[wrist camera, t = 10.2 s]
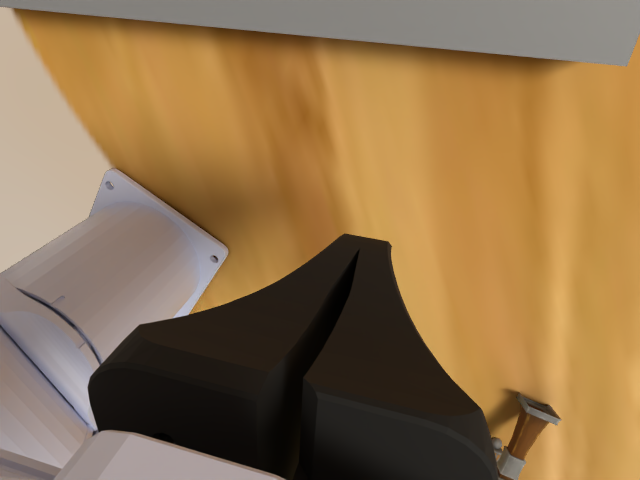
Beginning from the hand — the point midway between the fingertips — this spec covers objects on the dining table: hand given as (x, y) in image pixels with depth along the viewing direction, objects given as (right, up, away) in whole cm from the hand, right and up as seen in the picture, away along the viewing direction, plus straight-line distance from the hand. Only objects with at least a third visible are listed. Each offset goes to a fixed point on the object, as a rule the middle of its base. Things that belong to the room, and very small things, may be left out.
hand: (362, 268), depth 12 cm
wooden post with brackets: (+10, -11, +15) cm, 21 cm away
